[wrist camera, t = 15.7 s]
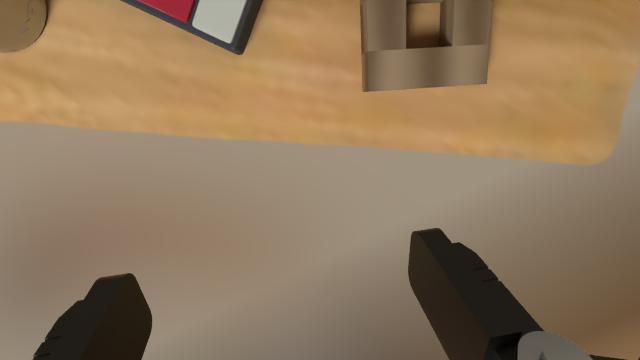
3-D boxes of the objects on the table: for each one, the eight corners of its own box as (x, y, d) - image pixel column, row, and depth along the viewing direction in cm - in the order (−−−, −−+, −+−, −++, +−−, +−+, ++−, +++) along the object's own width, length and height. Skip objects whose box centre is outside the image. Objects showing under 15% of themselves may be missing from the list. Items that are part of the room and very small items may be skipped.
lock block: (362, 91, 35) (368, 91, 32) (359, -36, 31) (365, -49, 29) (470, 84, 35) (486, 83, 32) (478, -41, 32) (496, -55, 29)
